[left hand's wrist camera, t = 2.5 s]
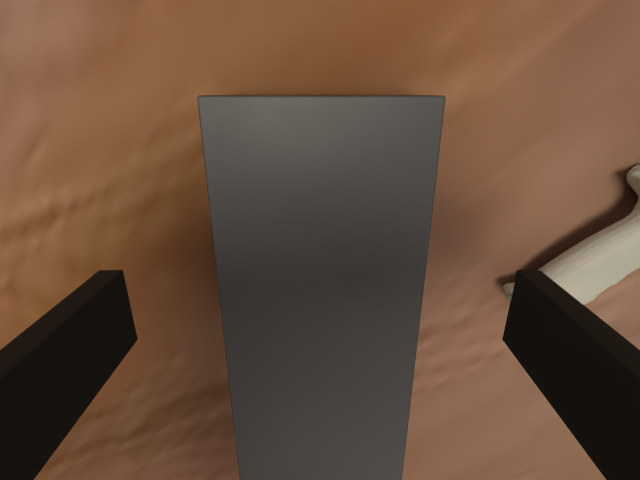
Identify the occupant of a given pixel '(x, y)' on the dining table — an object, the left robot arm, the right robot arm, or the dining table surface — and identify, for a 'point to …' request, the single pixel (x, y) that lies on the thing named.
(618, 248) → the tape dispenser
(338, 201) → the slab
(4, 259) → the dining table surface
